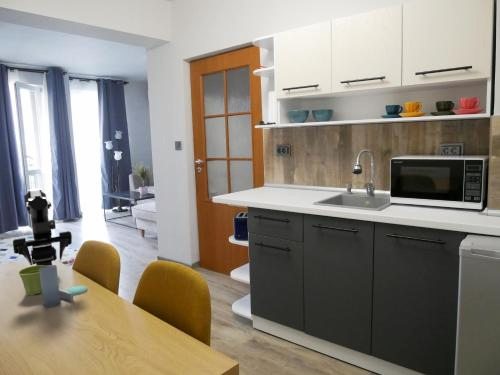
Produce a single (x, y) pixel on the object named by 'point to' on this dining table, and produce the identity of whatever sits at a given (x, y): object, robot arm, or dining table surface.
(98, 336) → the dining table surface
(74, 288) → the coaster
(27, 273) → the plant pot
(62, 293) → the acrylic wall
